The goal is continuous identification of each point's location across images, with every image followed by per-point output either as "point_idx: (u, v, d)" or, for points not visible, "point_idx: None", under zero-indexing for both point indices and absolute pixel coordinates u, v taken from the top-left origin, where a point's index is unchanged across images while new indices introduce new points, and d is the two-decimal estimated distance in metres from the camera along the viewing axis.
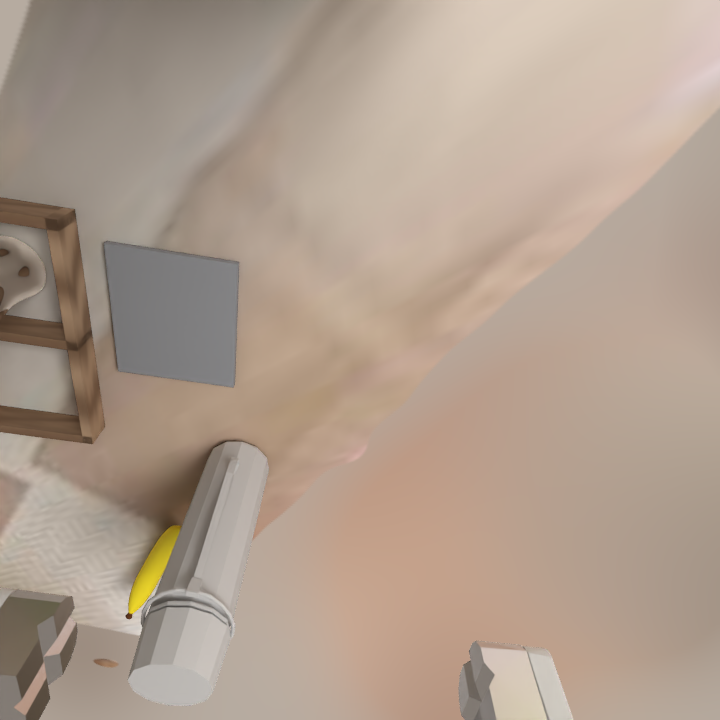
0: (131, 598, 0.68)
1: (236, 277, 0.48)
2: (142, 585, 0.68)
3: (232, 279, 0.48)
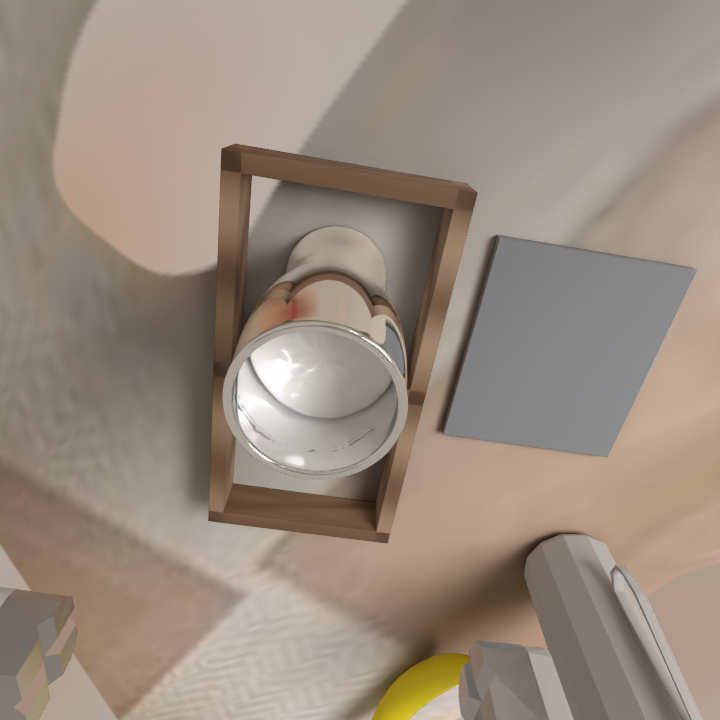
0: None
1: (685, 290, 0.31)
2: None
3: (678, 294, 0.31)
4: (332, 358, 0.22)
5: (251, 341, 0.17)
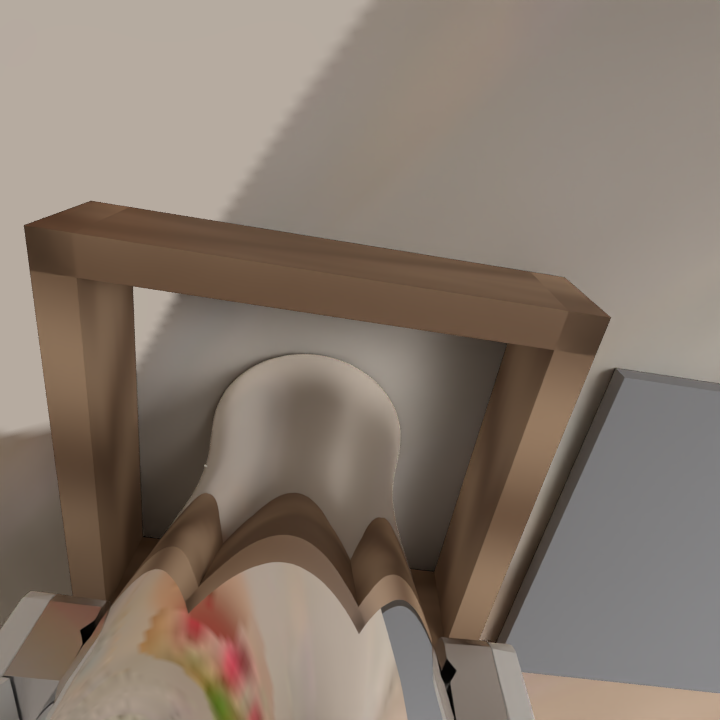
0: None
1: None
2: None
3: None
4: None
5: None
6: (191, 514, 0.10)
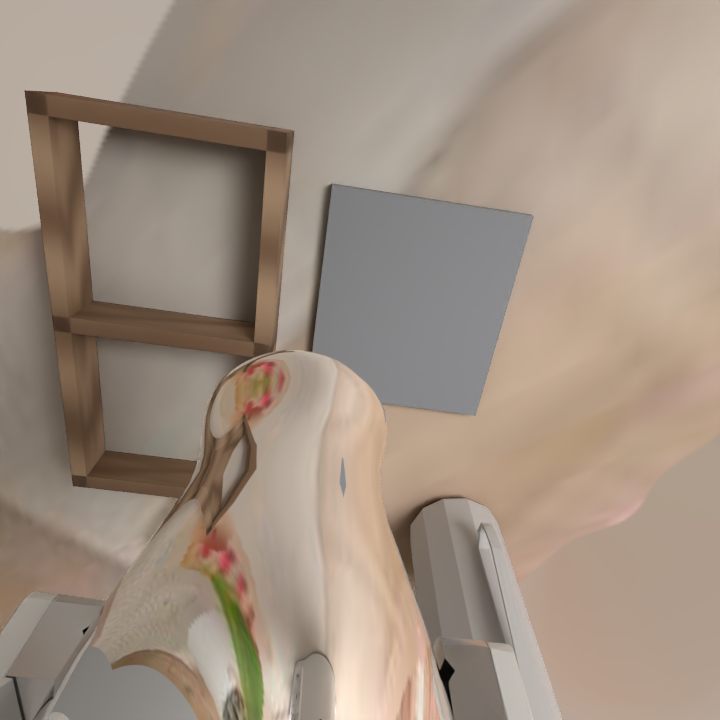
0: None
1: (525, 238, 0.31)
2: None
3: (518, 241, 0.31)
4: None
5: None
6: (187, 503, 0.11)
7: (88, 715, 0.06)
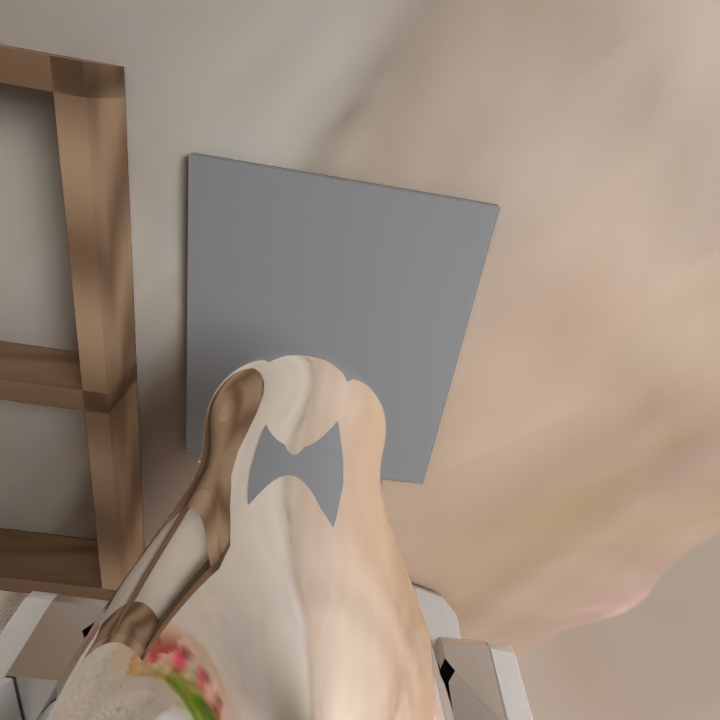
0: None
1: (488, 240, 0.21)
2: None
3: (478, 245, 0.21)
4: None
5: None
6: (188, 505, 0.11)
7: (90, 718, 0.06)
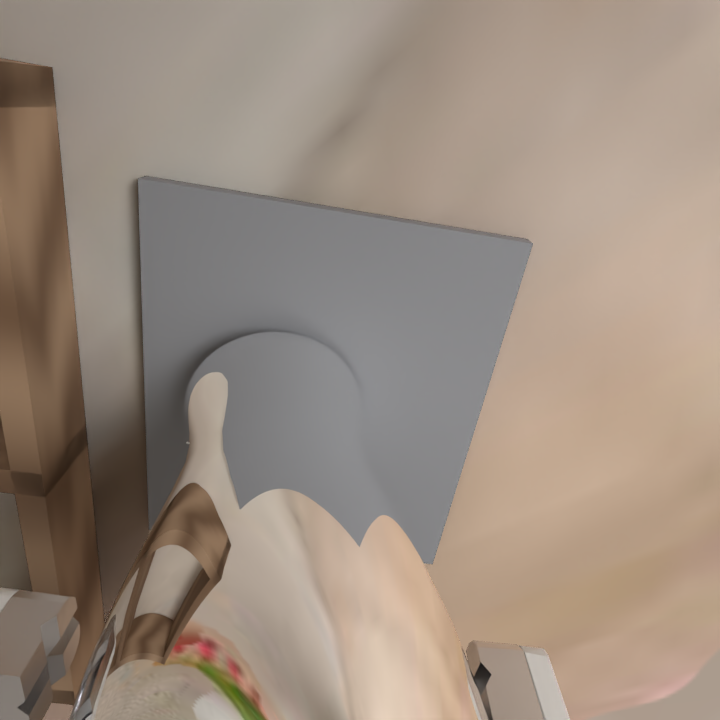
0: None
1: (517, 283, 0.16)
2: None
3: (504, 289, 0.17)
4: None
5: None
6: (193, 479, 0.11)
7: (149, 659, 0.07)
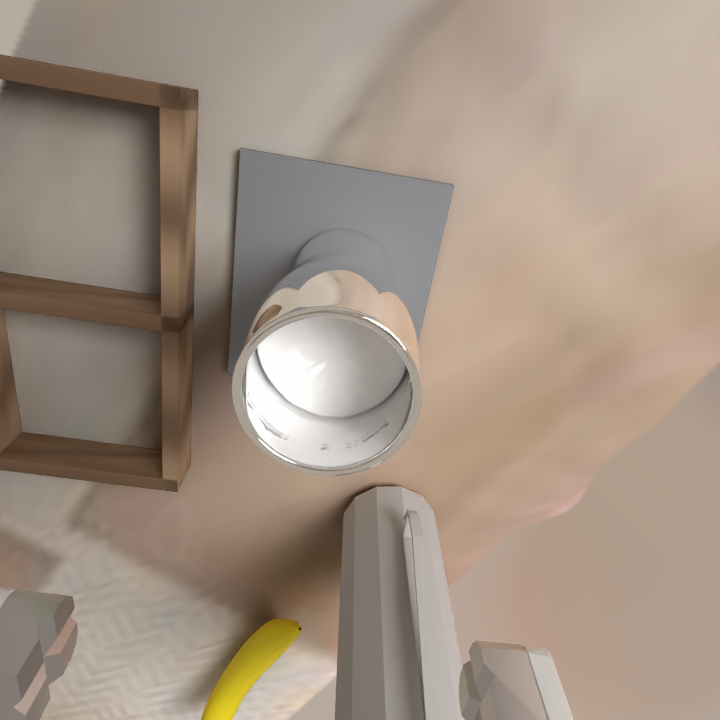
0: None
1: (447, 209, 0.29)
2: (219, 713, 0.45)
3: (440, 212, 0.30)
4: (341, 352, 0.21)
5: (259, 330, 0.17)
6: None
7: (289, 278, 0.20)
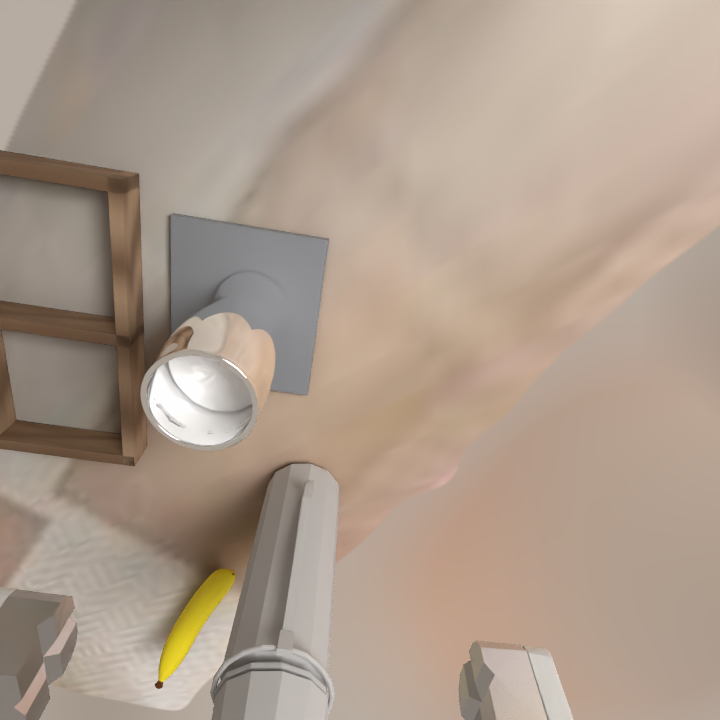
0: (162, 662, 0.56)
1: (325, 257, 0.40)
2: (177, 646, 0.57)
3: (320, 259, 0.40)
4: (223, 370, 0.32)
5: (154, 363, 0.28)
6: None
7: (185, 323, 0.31)
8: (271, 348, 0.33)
